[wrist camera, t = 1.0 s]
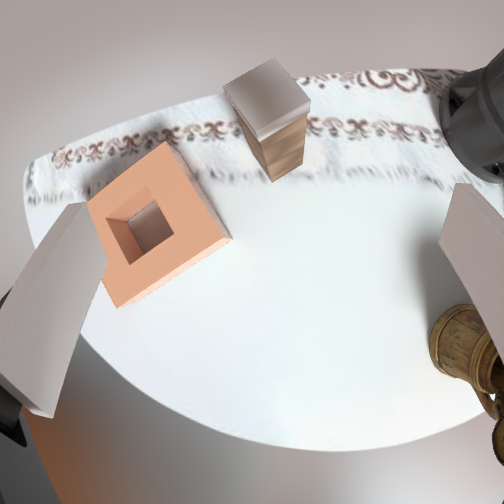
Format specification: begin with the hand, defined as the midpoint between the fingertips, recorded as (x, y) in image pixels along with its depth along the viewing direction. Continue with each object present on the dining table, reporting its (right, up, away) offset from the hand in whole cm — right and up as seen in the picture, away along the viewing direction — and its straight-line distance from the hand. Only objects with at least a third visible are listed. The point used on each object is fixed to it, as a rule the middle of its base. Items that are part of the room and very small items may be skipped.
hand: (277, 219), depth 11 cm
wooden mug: (+25, -14, +22) cm, 36 cm away
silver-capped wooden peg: (+2, +9, +25) cm, 26 cm away
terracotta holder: (-12, +2, +26) cm, 29 cm away
